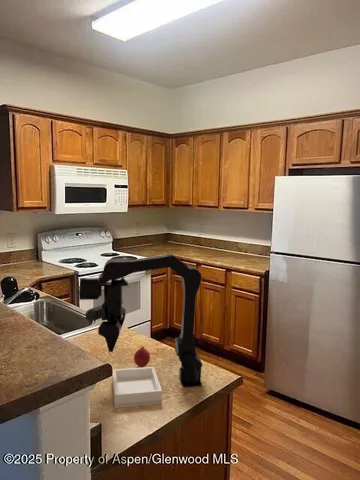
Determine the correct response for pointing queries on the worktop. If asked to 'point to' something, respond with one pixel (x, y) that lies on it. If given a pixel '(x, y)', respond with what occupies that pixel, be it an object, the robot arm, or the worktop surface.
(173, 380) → the worktop surface
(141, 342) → the worktop surface
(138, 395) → the bin
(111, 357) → the worktop surface
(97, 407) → the worktop surface
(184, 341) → the robot arm
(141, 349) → the onion
